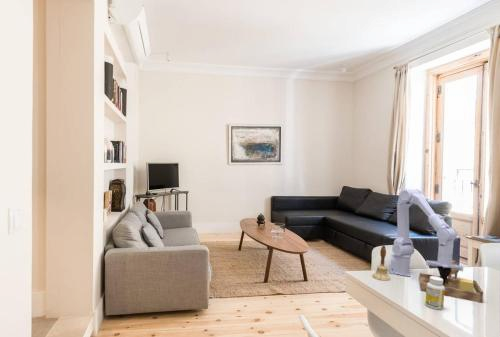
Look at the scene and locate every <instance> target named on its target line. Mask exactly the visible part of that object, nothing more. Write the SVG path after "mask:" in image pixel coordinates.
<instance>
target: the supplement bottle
mask: <svg viewBox="0 0 500 337" xmlns="http://www.w3.org/2000/svg"><path fill="white" fill-rule="evenodd" d="M435 276H436V275H434V276H431V277H430V282H429V283H427V289H426V292H425V305H426V306H427V307H428V308H430V309H434V310H442V309H443V308H444V302H445V295H444V292H445V287H444V286H443V285H442V284H443V279H442V278H439V277H435Z"/></svg>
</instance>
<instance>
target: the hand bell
mask: <svg viewBox="0 0 500 337" xmlns="http://www.w3.org/2000/svg"><path fill="white" fill-rule="evenodd" d="M379 252H380V264H379V265H377V266H376V267H377V268H376V271H375V272H374V273H373V274H372V276H371V277H372V278H373V279H376V280H379V281H384V282H385V281H386V282H387V281H389V282H390V281H391V277H390V276H389V274H388V268H387V266H386V265H385V258H386V255H387V249H386V246H385V245H382V246H381V247H380V251H379Z"/></svg>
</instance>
